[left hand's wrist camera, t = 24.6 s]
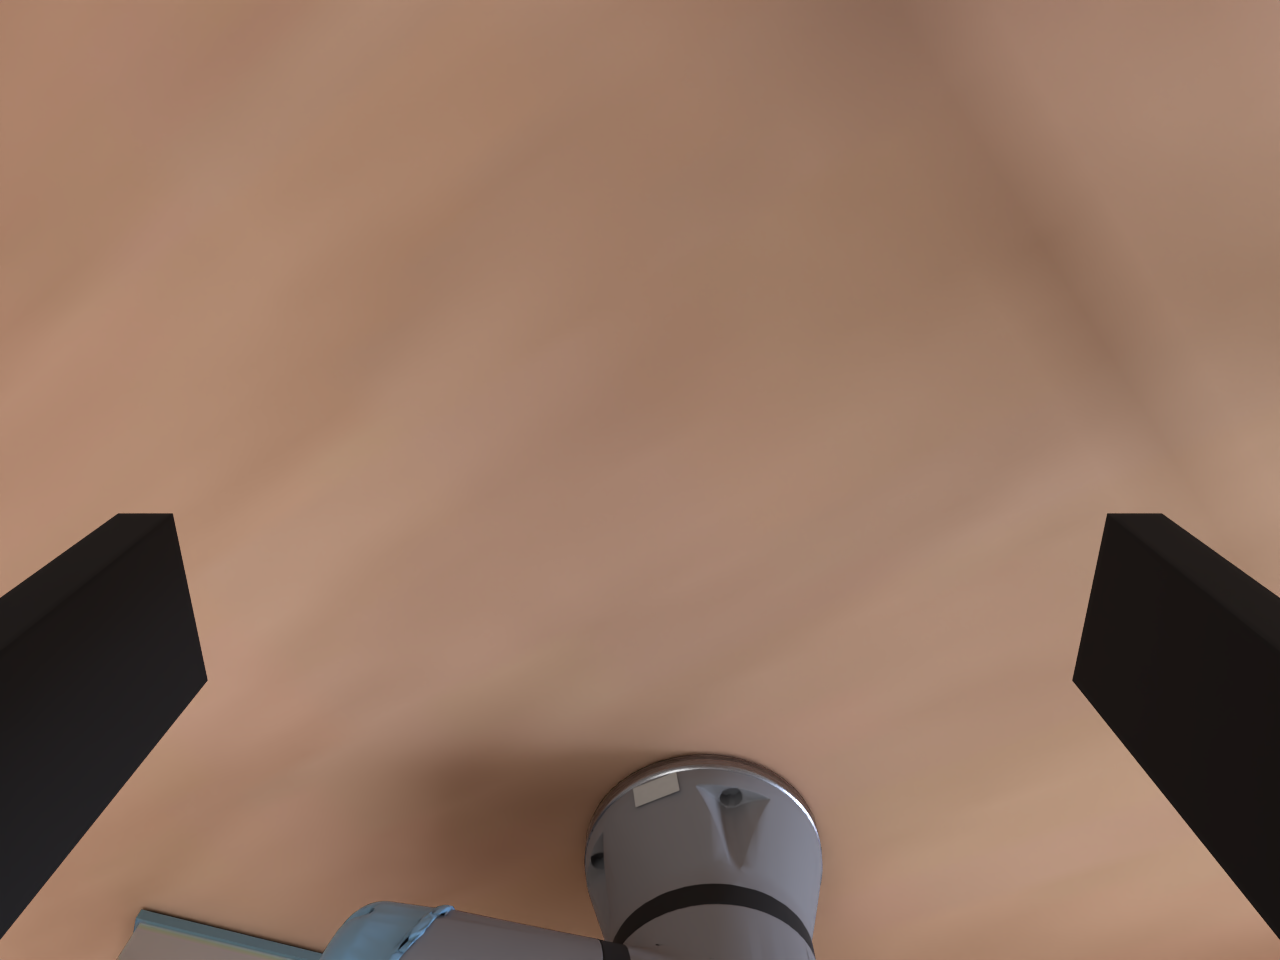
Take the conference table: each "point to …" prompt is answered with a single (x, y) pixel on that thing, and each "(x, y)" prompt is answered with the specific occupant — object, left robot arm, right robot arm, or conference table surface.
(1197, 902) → the conference table surface
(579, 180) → the conference table surface
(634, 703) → the conference table surface
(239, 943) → the book
